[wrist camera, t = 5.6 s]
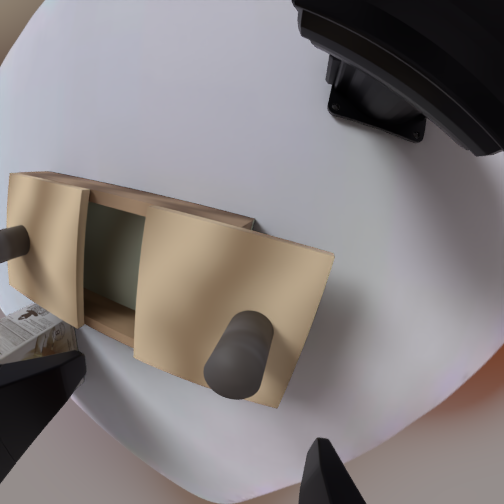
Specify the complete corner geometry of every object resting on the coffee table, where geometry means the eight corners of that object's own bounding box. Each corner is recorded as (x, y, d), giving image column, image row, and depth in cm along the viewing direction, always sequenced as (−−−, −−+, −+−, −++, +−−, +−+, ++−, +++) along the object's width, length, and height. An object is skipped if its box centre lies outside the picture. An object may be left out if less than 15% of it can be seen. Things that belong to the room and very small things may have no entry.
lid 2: (333, 253, 14) (346, 286, 9) (278, 400, 16) (267, 459, 12) (154, 205, 15) (96, 215, 10) (139, 352, 18) (98, 393, 13)
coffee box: (87, 383, 26) (0, 466, 10) (51, 363, 27) (-33, 429, 11) (73, 313, 24) (-49, 392, 8) (36, 297, 25) (-72, 354, 9)
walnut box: (255, 218, 18) (241, 227, 15) (223, 347, 21) (207, 378, 17) (48, 171, 21) (17, 172, 17) (43, 270, 23) (15, 281, 20)
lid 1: (90, 189, 16) (30, 195, 11) (84, 324, 18) (40, 354, 13) (16, 172, 17) (-30, 176, 12) (15, 282, 19) (-24, 298, 15)
